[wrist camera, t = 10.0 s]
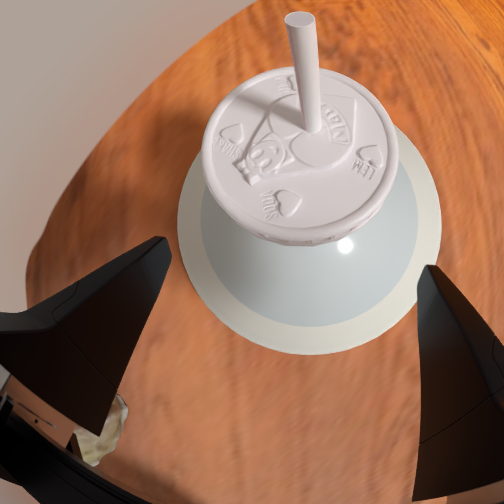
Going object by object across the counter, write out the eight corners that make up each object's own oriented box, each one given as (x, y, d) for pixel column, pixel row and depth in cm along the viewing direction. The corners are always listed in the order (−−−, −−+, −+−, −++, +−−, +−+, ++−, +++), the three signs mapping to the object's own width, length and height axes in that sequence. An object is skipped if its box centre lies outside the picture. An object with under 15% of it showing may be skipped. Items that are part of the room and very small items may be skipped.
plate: (256, 391, 18) (252, 398, 17) (152, 180, 22) (144, 175, 20) (473, 263, 16) (481, 261, 14) (341, 72, 19) (341, 62, 18)
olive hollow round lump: (137, 430, 23) (96, 501, 13) (72, 399, 23) (23, 454, 14) (130, 363, 20) (64, 447, 10) (56, 330, 21) (-15, 386, 11)
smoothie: (379, 223, 16) (508, 84, 3) (296, 284, 17) (217, 300, 4) (318, 147, 18) (296, -51, 4) (239, 202, 18) (90, 63, 5)
